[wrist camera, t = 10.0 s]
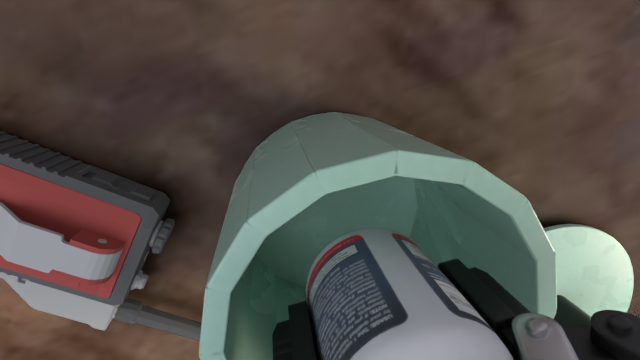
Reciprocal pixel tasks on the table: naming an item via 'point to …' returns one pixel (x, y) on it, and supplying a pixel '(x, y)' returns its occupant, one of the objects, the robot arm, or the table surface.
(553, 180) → the table surface
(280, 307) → the cylindrical container
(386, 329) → the pill bottle
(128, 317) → the walkie-talkie
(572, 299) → the lid
